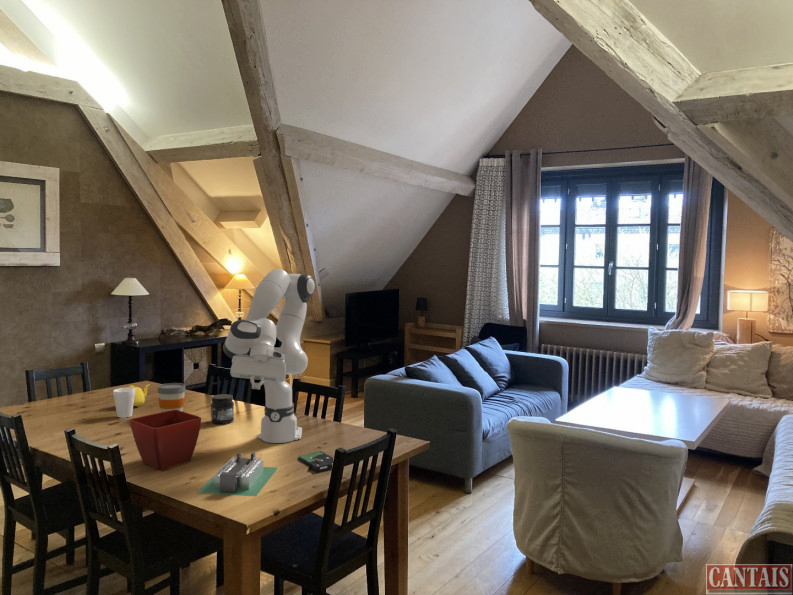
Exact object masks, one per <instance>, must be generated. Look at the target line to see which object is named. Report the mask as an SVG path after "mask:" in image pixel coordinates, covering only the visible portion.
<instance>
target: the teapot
mask: <svg viewBox="0 0 793 595" xmlns="http://www.w3.org/2000/svg"><path fill="white" fill-rule="evenodd" d="M150 385H151V384H150V383H149V384H146V385H145V386H144V388H143V389H142V388H141V387H138V386H135V385H128V388H134V389H135V395H134V403H133V407H136V408H141V407H140V406H142V405H144V403H145V401H146V400H145V398H146V397H147V394H148V388H149V386H150Z"/></svg>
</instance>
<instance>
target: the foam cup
mask: <svg viewBox="0 0 793 595" xmlns="http://www.w3.org/2000/svg"><path fill="white" fill-rule="evenodd" d="M112 394H113V396H112V397H113V399H114V405H115V411H116V417H123V418H122V419H125V418H124V417H130V416H133V411H134V406H133V403H134V395H135V389H134V388H129V387H120V388H116V389H113V391H112ZM130 418H131V417H130Z"/></svg>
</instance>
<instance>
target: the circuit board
mask: <svg viewBox="0 0 793 595" xmlns="http://www.w3.org/2000/svg"><path fill="white" fill-rule="evenodd" d="M263 468H264V472H263V473H262V475H261V476H260V477H259V478H258V479H257V481H256V482H255V483H254V484H253V485H252V487H251V488H250V489H237V492H236V493H220V488H214V475H213V476H212V477H211V478H210V479H209V480H208V481H207V482H206V483H205V484H204V485H203V486H202V487H200V489H198V490H197V491H196V493H195V494H202V495H223V496H244V497H245V496H246V497H247V496H249V497H250V496H251V497H257V496H258V494H259V493H260V492H261V490H262V489H263V488H264V487H265V486H266V484H268V482H269V480H270V479H271V478H272V477H273V475H274V474H275V473H276V472H277V470H278V469H279V467H273V466H263Z"/></svg>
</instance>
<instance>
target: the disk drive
mask: <svg viewBox="0 0 793 595" xmlns="http://www.w3.org/2000/svg"><path fill="white" fill-rule="evenodd" d="M333 458H334V457H332V455H331V456H330V455H329V454H327V453H325V452H323V451H315V452H310V453H308V454H304V455H299V456H297V460H299V461H300V462H302V463H304V464H305V465H307V466H309V467H308V469H309V470H311V471H312V472H315V473H316V474H318V473H321V472H322V473H323V472H325V471H331V470H332V469H331V468H332V463H333Z"/></svg>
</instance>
